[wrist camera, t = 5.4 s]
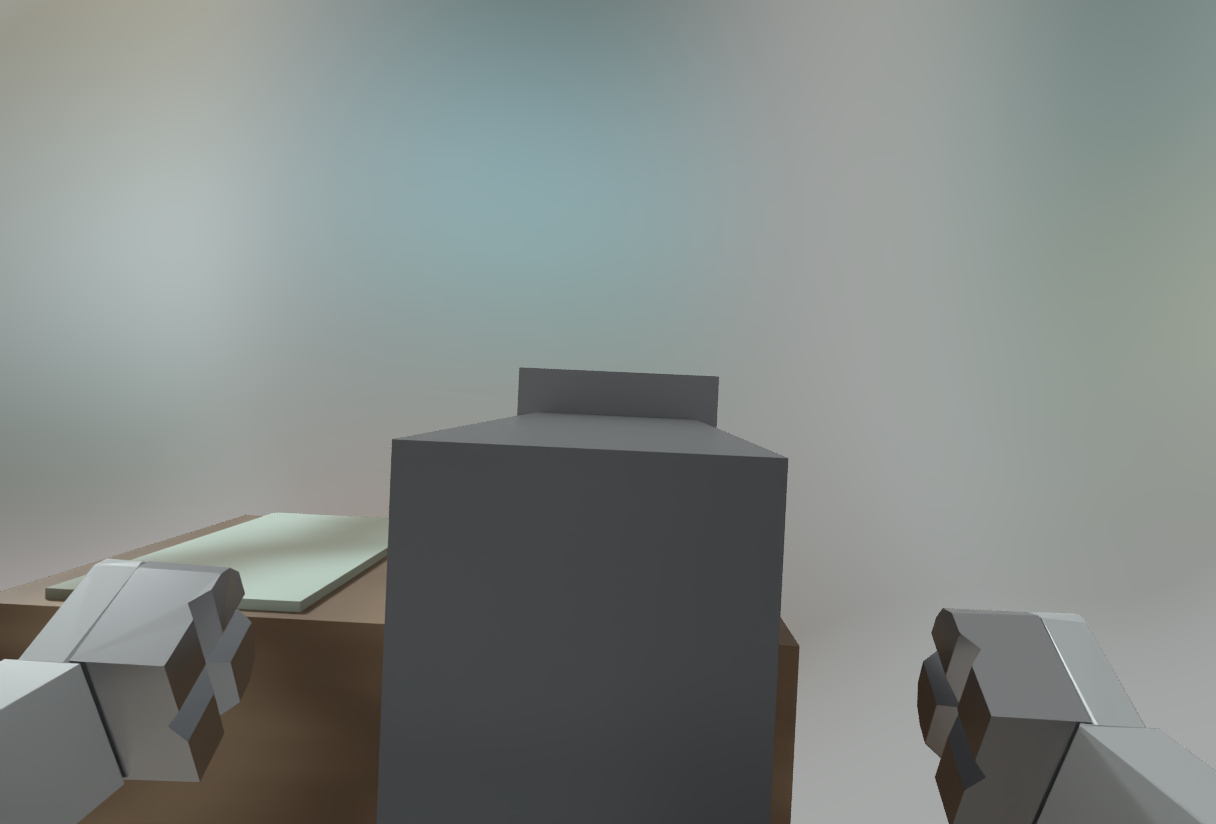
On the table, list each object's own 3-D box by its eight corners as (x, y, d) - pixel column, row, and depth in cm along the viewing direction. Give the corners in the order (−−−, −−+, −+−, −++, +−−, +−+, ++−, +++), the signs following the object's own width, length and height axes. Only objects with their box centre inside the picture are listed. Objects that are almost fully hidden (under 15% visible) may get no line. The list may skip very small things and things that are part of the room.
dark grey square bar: (321, 826, 9) (342, 327, 8) (534, 533, 27) (541, 372, 26) (822, 855, 8) (849, 350, 8) (695, 541, 26) (702, 379, 26)
